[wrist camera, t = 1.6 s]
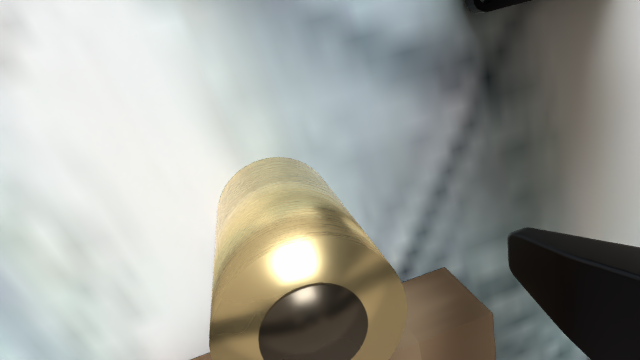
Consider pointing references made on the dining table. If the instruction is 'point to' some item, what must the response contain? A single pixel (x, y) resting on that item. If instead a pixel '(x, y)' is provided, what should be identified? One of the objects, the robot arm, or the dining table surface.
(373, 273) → the brass sleeve
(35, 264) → the dining table surface
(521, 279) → the robot arm
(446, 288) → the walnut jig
